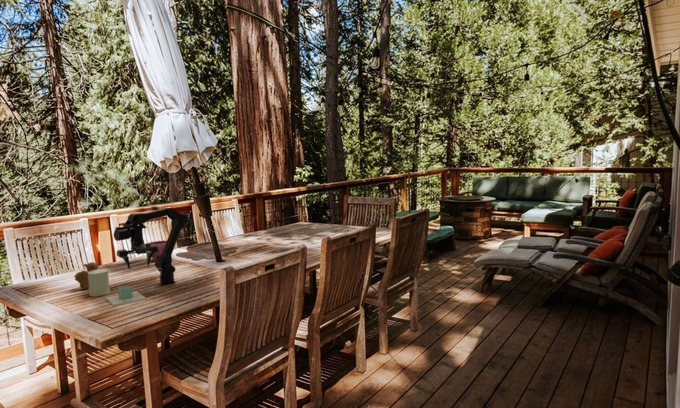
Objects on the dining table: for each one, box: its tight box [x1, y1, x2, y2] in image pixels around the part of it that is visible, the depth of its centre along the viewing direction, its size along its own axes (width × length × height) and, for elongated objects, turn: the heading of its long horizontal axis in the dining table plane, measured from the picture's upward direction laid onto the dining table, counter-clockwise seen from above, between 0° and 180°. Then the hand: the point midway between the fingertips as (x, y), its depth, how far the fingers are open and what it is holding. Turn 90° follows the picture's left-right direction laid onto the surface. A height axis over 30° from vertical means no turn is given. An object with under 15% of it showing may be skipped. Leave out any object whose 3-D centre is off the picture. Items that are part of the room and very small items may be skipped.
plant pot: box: [149, 240, 167, 263], centre depth 285 cm, size 14×14×13 cm
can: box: [87, 268, 111, 297], centre depth 215 cm, size 9×9×12 cm
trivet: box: [105, 290, 146, 307], centre depth 205 cm, size 14×14×1 cm
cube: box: [117, 285, 133, 300], centre depth 205 cm, size 5×5×5 cm
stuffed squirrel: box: [73, 261, 102, 290], centre depth 226 cm, size 10×14×13 cm
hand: (138, 267), depth 219 cm, fingers open, 9 cm apart
